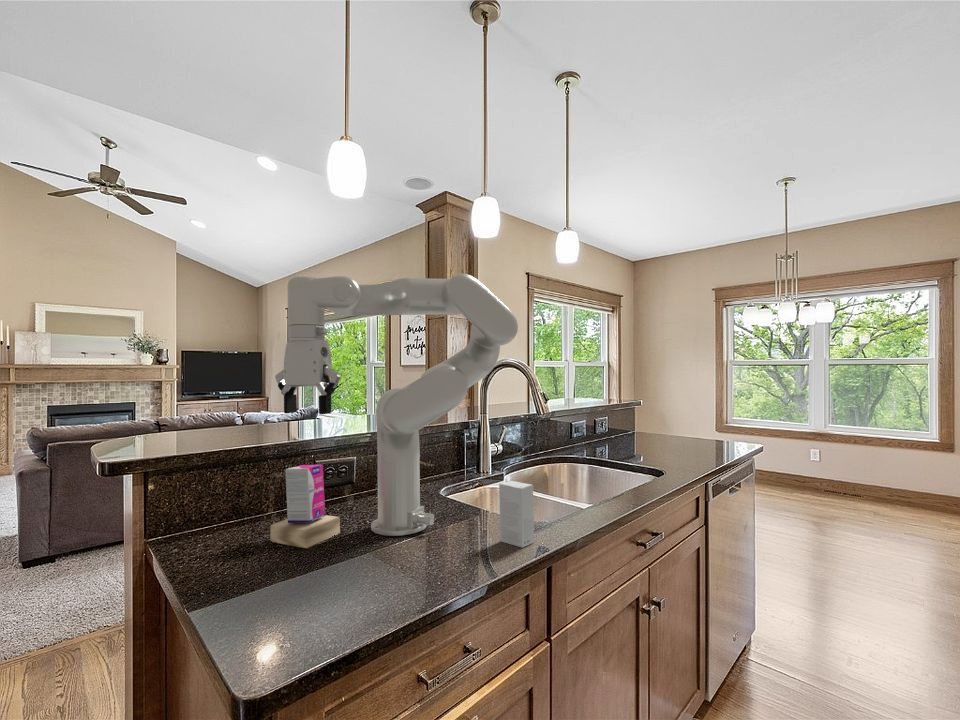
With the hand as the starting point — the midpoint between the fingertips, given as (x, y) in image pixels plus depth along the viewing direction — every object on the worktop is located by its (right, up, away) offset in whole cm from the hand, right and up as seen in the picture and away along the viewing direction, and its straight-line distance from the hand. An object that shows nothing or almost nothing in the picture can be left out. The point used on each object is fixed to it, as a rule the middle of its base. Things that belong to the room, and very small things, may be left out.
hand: (307, 413), depth 106 cm
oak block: (0, -27, 0) cm, 27 cm away
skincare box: (+45, -26, -5) cm, 53 cm away
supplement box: (0, -23, 0) cm, 23 cm away
